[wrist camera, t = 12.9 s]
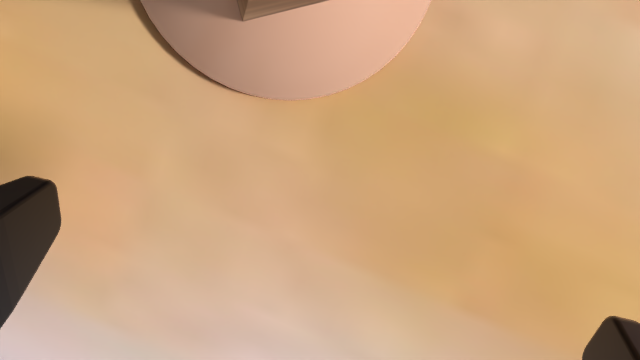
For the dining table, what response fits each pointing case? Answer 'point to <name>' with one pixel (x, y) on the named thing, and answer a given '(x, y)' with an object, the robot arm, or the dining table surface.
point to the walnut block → (269, 7)
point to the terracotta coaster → (288, 43)
